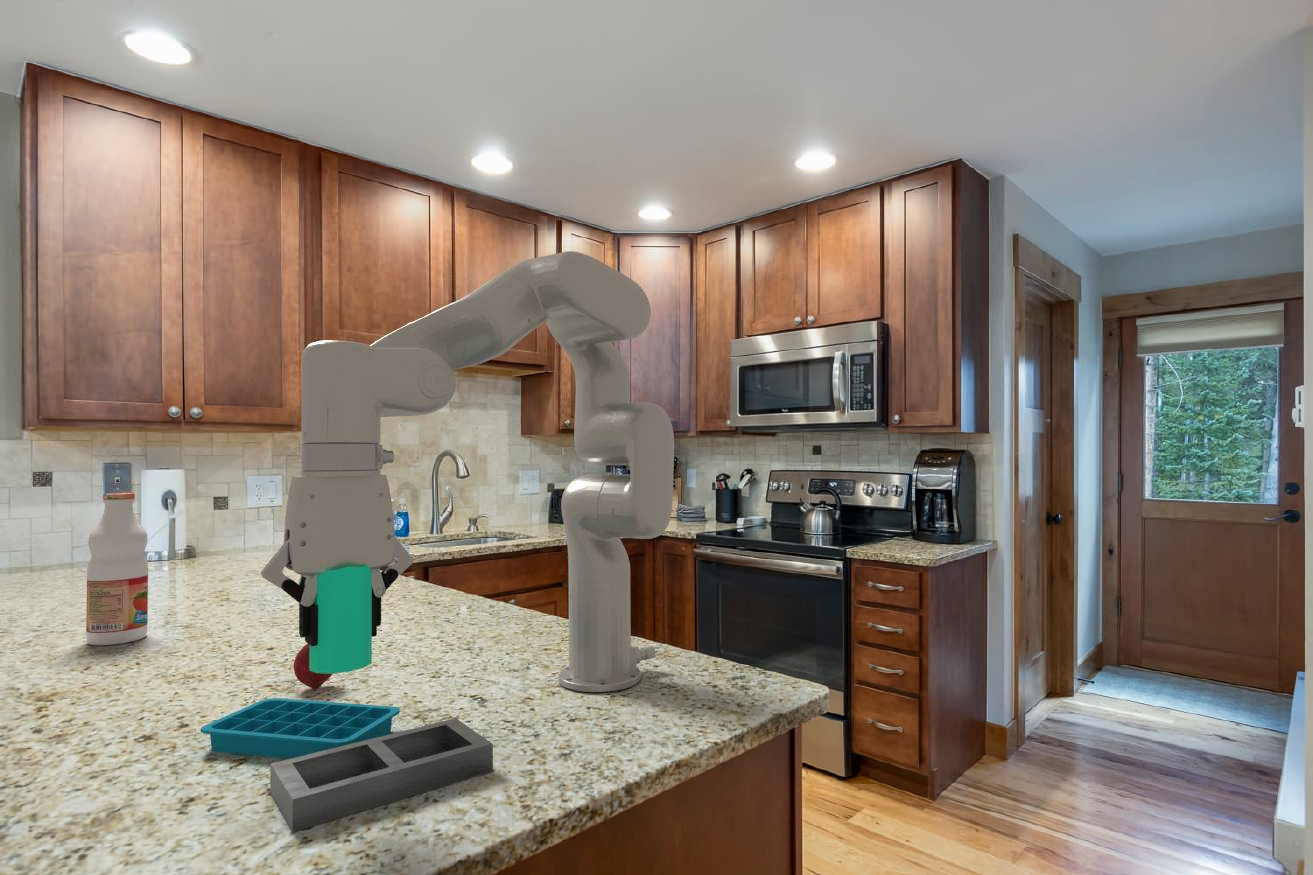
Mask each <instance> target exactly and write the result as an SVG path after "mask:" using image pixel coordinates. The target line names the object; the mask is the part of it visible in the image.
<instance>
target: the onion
mask: <svg viewBox="0 0 1313 875" xmlns="http://www.w3.org/2000/svg"><path fill="white" fill-rule="evenodd" d="M309 649H310V645H309V644H308V643H307V642H306V644H305V645H303V646H302V648H300V650H299V651H298V652H297V654H296V656H295V657H294V661H293V671H294V672H293V673H294V675H295V677H296V679H297V680H298V681H299V682H300V683H301V684H302V685H305V687H308V688H311V689H312V690H317V689H319V688H321V687H322V685H324V683H325V682H327V681H328V680H329V679H330V678H331V677H332V676H333V674H327V673H315V672H312V671H310V670H309Z"/></svg>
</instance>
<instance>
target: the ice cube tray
mask: <svg viewBox="0 0 1313 875" xmlns="http://www.w3.org/2000/svg"><path fill="white" fill-rule="evenodd" d="M400 711H401V709H400V707H398V706H390V705H389V706H388V705H376V704H364V703H363V704H360V703H351V702H350V703H348V702H347V703H346V702H333V701H322V700H321V701H319V700H305V699H293V698H281V697H277V698H276V697H272V698H266V699H262V700H259V701H257V702H254V703H252V704H249V705H248V706H245V707H244V708H241V709H238V710H236V711H234V712H232V713H230V714H227V715H225V716H224V717H221V718H219V719H216V720H215V721H212V722H210V723H208V724H205V725H203V726H202V727H201V728H200V733H202V734H205V735H209V736H210V737H209V738H210V747H211V751H212V752H215V753H225V754H226V753H227V754H237V755H246V754H247V755H246V756H255V755H256V756H257V757H266V758H267V757H268V758H280V759H286V760H288V759H292V758H296V757H300V756H304V755H308V754H312V753H316V752H320V751H324V750H328V749H332V748H336V747H341V746H345V745H349V744H353V743H357V742H361V741H365V740H369V739H373V738H377V737H381V736H385V735H389V734H392V733H391V732H392V725H393V724H392V723H393V718H394V717H396V716H397V715H399V714H400Z"/></svg>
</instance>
